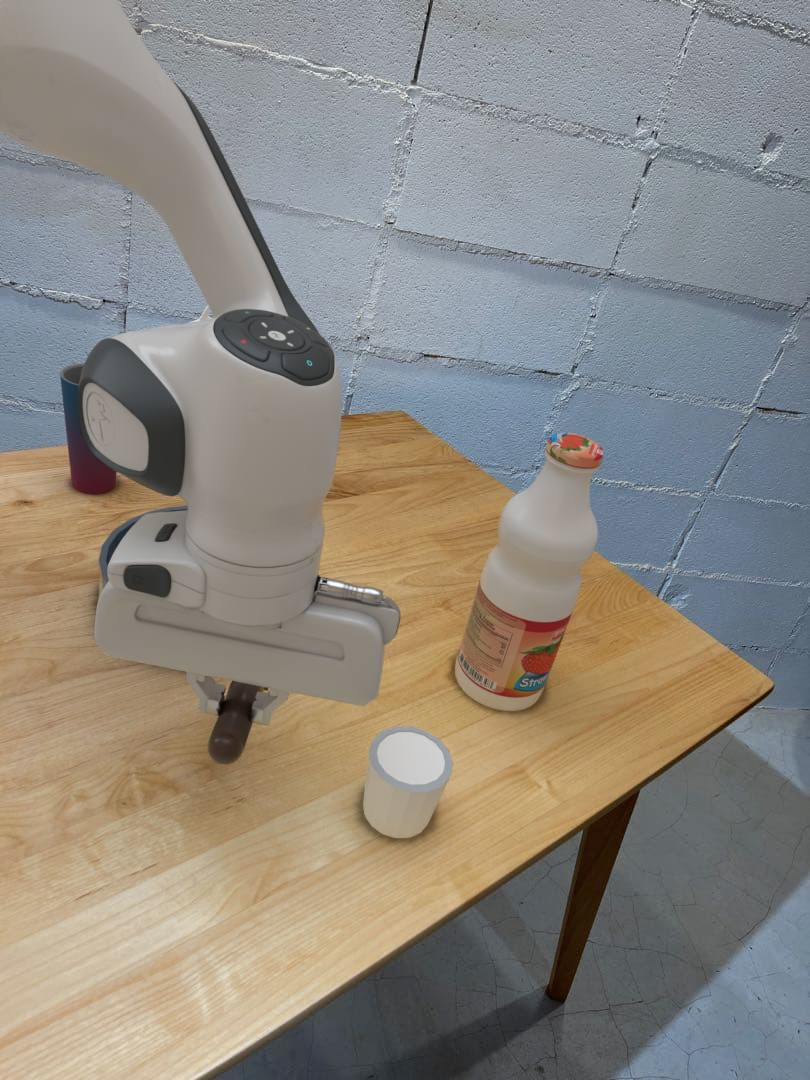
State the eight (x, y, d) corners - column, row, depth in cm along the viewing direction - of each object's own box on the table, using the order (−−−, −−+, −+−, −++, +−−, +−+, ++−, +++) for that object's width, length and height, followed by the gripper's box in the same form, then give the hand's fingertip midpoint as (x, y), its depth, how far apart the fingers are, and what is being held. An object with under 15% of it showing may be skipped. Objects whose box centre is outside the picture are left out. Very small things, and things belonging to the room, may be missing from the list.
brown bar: (240, 776, 59) (243, 751, 57) (199, 767, 59) (201, 742, 57) (279, 656, 70) (282, 633, 68) (244, 649, 70) (247, 625, 68)
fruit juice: (466, 641, 90) (535, 410, 75) (548, 672, 88) (635, 441, 73) (441, 693, 82) (513, 447, 67) (530, 728, 80) (624, 483, 65)
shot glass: (338, 805, 68) (351, 748, 64) (396, 768, 73) (411, 712, 69) (394, 863, 64) (411, 806, 61) (451, 821, 69) (470, 764, 65)
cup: (52, 491, 99) (47, 376, 91) (84, 468, 104) (82, 358, 96) (104, 507, 98) (103, 392, 90) (133, 483, 104) (134, 373, 96)
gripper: (409, 569, 57) (376, 710, 64) (119, 510, 56) (119, 660, 64) (402, 624, 52) (366, 771, 59) (81, 560, 51) (86, 717, 58)
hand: (236, 713), depth 61 cm, fingers closed on brown bar, 2 cm apart
